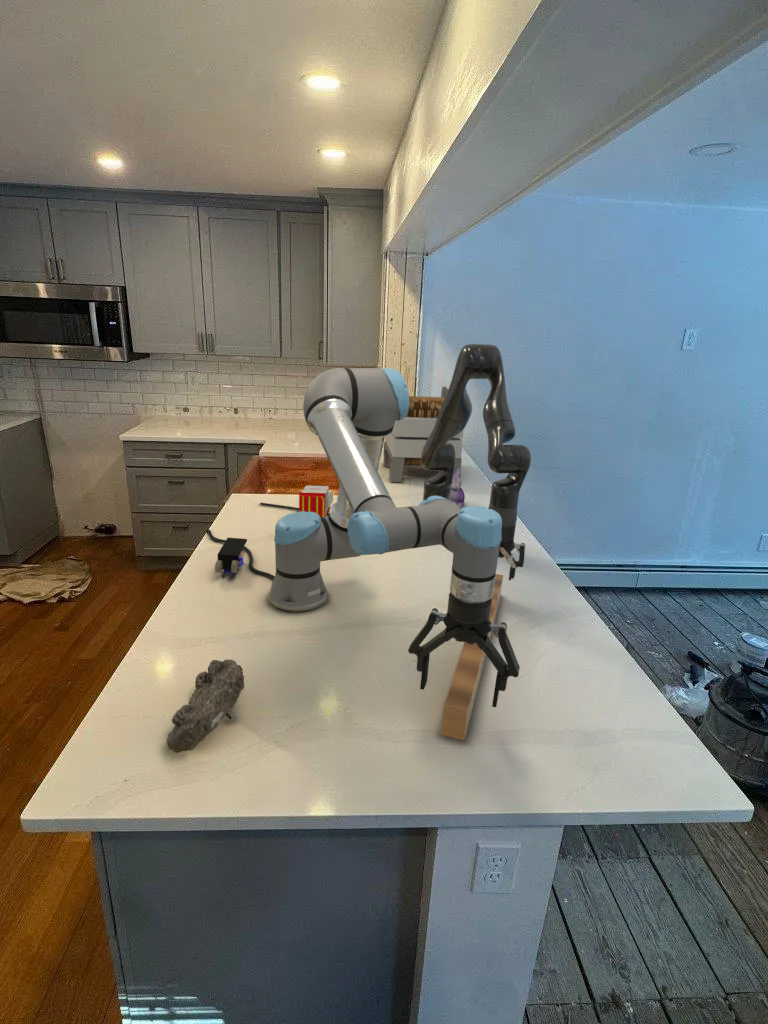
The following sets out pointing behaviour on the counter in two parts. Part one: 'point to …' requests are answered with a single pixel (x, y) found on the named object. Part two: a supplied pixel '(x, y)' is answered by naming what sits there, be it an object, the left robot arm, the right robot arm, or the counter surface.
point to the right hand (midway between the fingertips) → (494, 576)
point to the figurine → (457, 490)
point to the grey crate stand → (416, 436)
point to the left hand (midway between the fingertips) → (458, 693)
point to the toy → (316, 500)
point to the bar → (467, 680)
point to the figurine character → (230, 556)
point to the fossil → (206, 705)
